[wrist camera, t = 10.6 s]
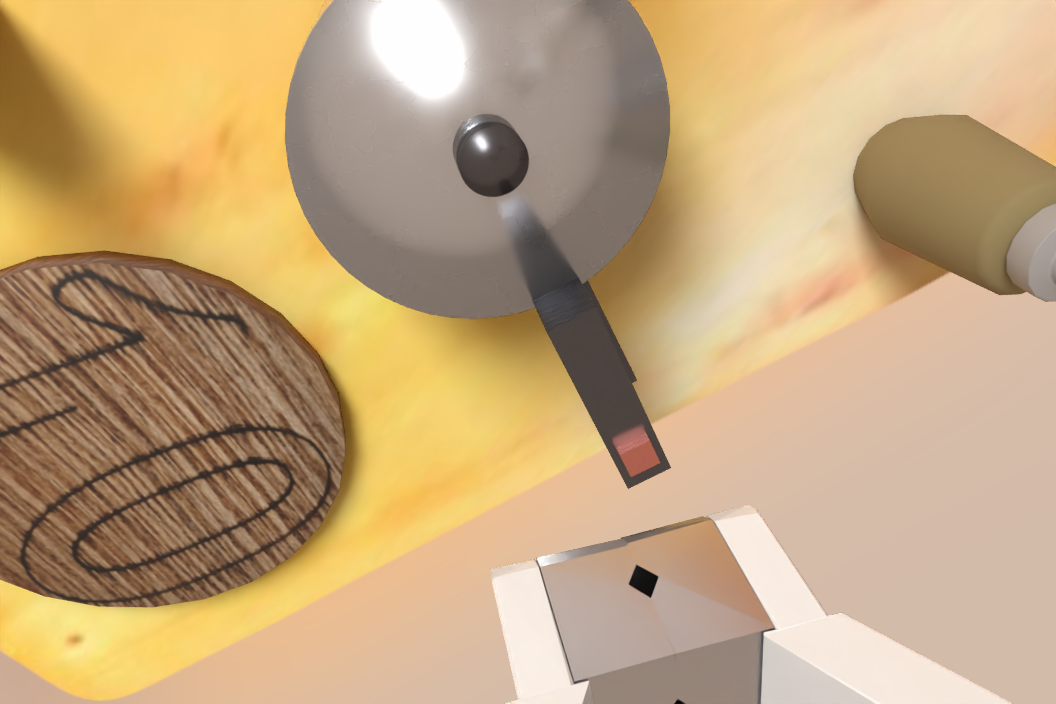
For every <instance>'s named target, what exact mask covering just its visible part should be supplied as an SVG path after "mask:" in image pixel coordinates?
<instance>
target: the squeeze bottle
mask: <svg viewBox="0 0 1056 704" xmlns="http://www.w3.org/2000/svg"><path fill="white" fill-rule="evenodd" d="M854 184H855V192H856V194H857V196H858V198H859V200H860V202H861V204H862V206H863V208H864V210H865V212H866V214H867V216H868V218H869V220H870V222H871V223H872V225H873V226H874V228H875V229H876V231H877V232H878V234H879V235H880V237H881V238H882V239H884V240H886V241H888V242H890V243H892V244H894V245H896V246H898V247H900V248H902V249H904V250H907V251H909V252H911V253H913V254H915V255H917V256H919V257H921V258H923V259H925V260H927V261H929V262H932V263H934V264H936V265H938V266H940V267H942V268H944V269H946V270H948V271H950V272H952V273H954V274H957V275H959V276H961V277H963V278H965V279H967V280H969V281H971V282H973V283H975V284H977V285H979V286H981V287H984V288H986V289H988V290H990V291H992V292H994V293H996V294H998V295H1012V294H1022V293H1024V292H1028V293H1030V294H1032V295H1033V296H1035V297H1037V298H1039V299H1041V300H1043V301H1046V302H1048V301H1056V167H1055V166H1053V165H1051V164H1050V163H1048V162H1046V161H1044V160H1043V159H1041V158H1039V157H1038V156H1036V155H1034V154H1032V153H1031V152H1029V151H1027V150H1026V149H1024V148H1022V147H1021V146H1019V145H1017V144H1015V143H1014V142H1012V141H1010V140H1009V139H1007V138H1005V137H1003V136H1002V135H1000V134H998V133H997V132H995V131H993V130H991V129H990V128H988V127H986V126H985V125H983V124H981V123H979V122H978V121H976V120H974V119H973V118H971V117H969V116H968V115H935V116H924V117H913V118H903V119H901V120H898V121H896V122H893V123H891V124H888V125H886V126H885V127H883V128H882V129H881V130H880V131H879V132H877V133H876V134H875V135H874V136H873V137H872V138H870V139H869V141H868V143H867V144H866V146H865V147H864V149H863V150H862V152H861V153H860V155H859V156H858V160H857V164H856V168H855V171H854Z"/></svg>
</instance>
